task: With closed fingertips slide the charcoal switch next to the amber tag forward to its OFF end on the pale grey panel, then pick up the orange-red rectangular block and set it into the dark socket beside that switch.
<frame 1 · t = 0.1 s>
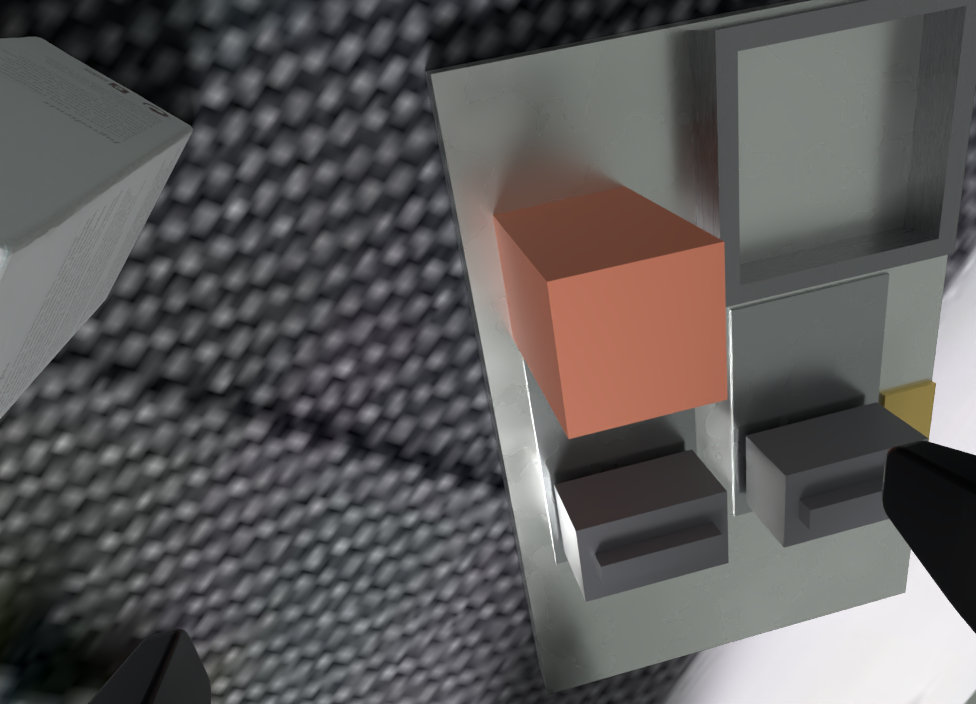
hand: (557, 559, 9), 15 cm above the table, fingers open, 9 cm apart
orange-red rectangular block: (567, 265, 21), point 1 cm above the table, touching panel
skincare box: (75, 178, 20), on the table
toggle A: (643, 529, 24), point 3 cm above the table, slide at 0.0 cm
panel: (706, 377, 26), on the table
toggle B: (837, 477, 24), point 3 cm above the table, slide at 0.0 cm
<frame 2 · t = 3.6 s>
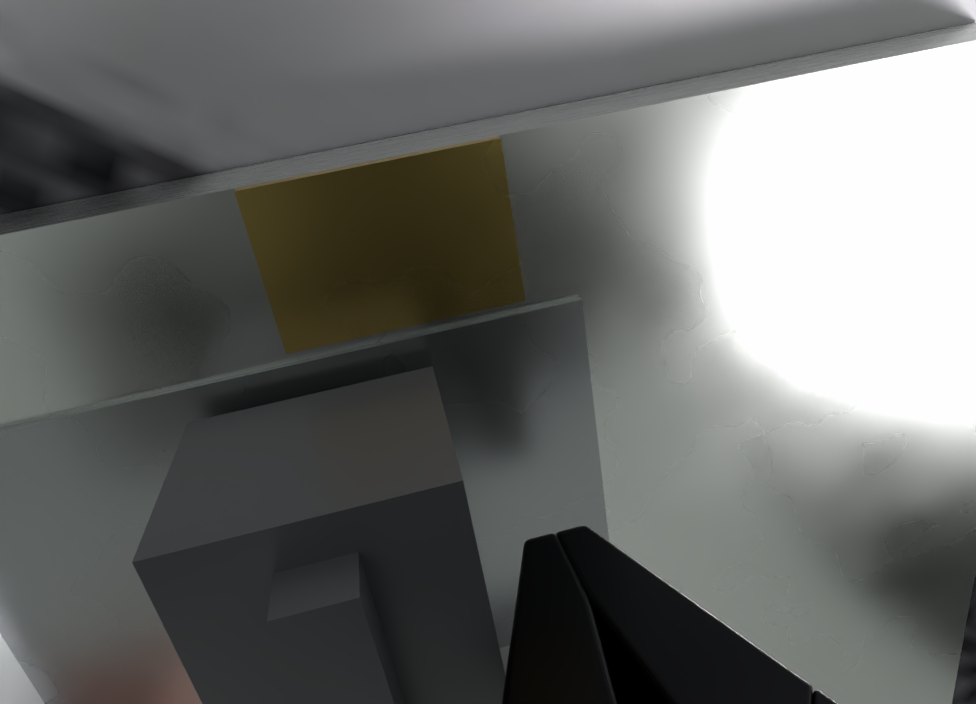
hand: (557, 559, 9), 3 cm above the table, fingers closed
panel: (304, 634, 13), on the table
toggle B: (363, 637, 8), point 3 cm above the table, slide at 1.3 cm, touching gripper
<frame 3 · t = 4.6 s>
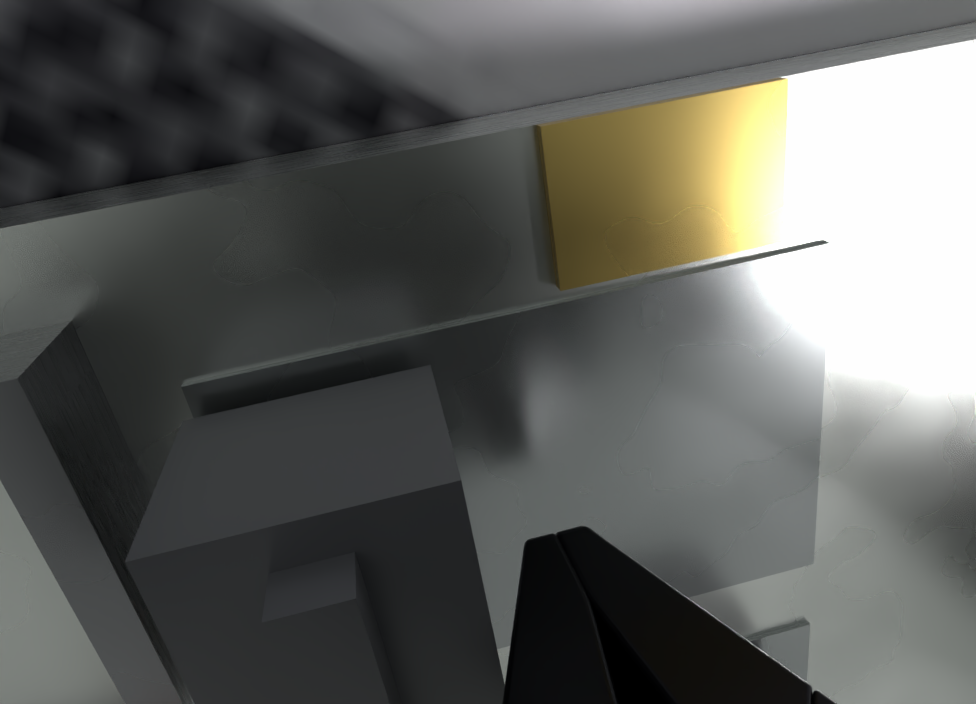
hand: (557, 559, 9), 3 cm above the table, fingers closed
panel: (491, 585, 13), on the table
toggle B: (360, 638, 8), point 3 cm above the table, slide at 4.8 cm, touching gripper
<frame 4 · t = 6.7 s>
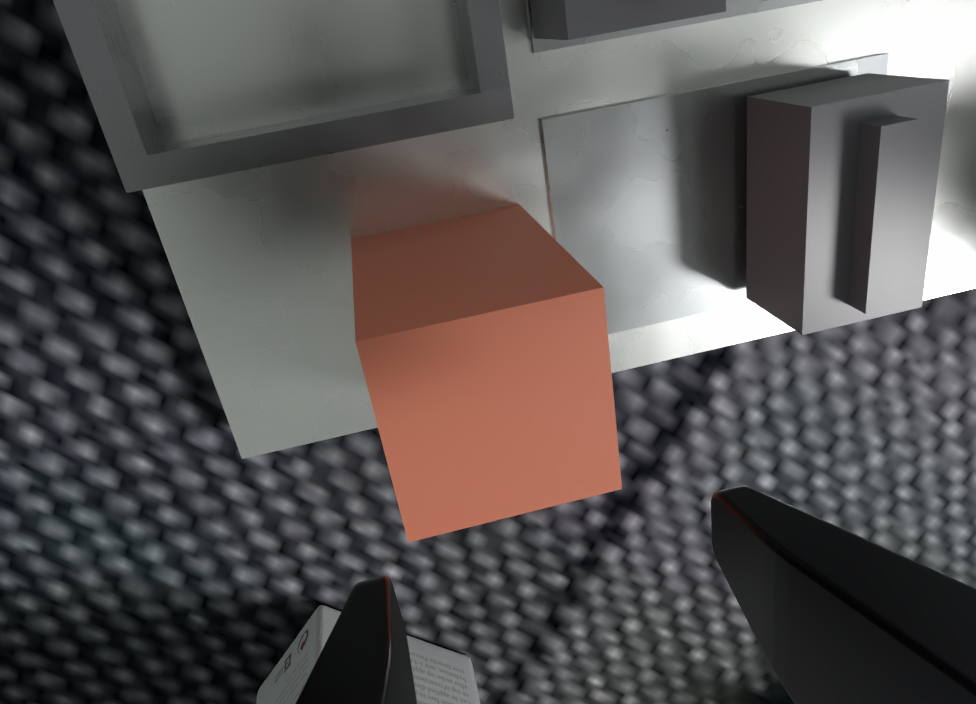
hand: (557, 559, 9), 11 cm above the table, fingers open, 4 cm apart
orange-red rectangular block: (451, 300, 17), point 1 cm above the table, touching panel
skincare box: (368, 667, 24), on the table
toggle A: (843, 205, 16), point 3 cm above the table, slide at 0.0 cm
panel: (648, 36, 17), on the table
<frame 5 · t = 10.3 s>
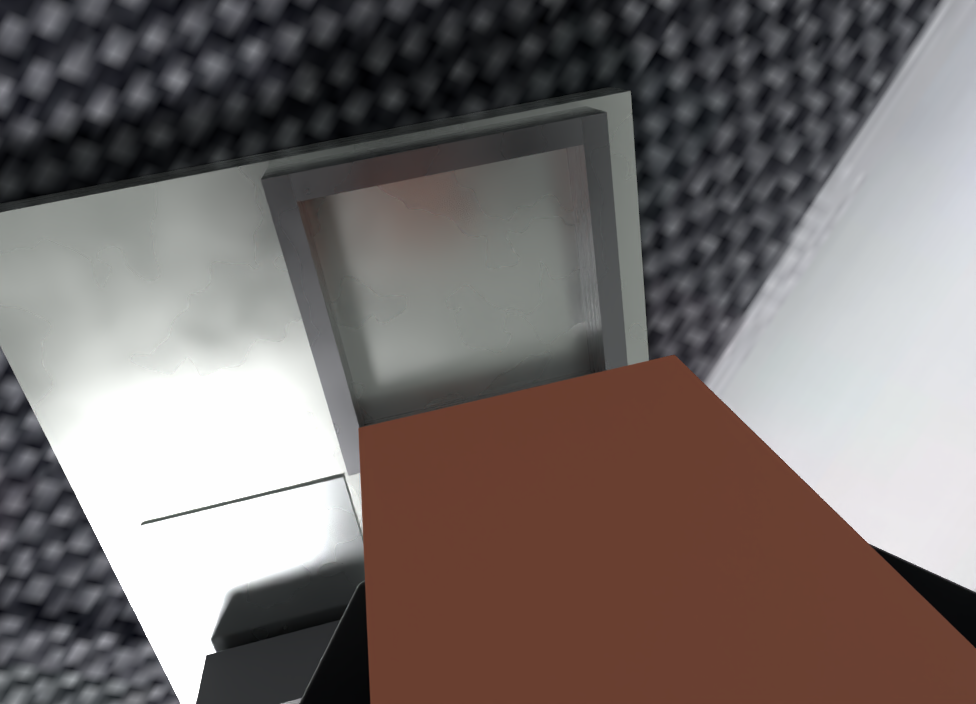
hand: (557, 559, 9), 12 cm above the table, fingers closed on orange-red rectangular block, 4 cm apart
orange-red rectangular block: (540, 518, 10), point 11 cm above the table, touching gripper
panel: (404, 522, 23), on the table
when the fingers open (4 cm above the table, at t = 12.1 s): orange-red rectangular block drops 1 cm, resting on panel.
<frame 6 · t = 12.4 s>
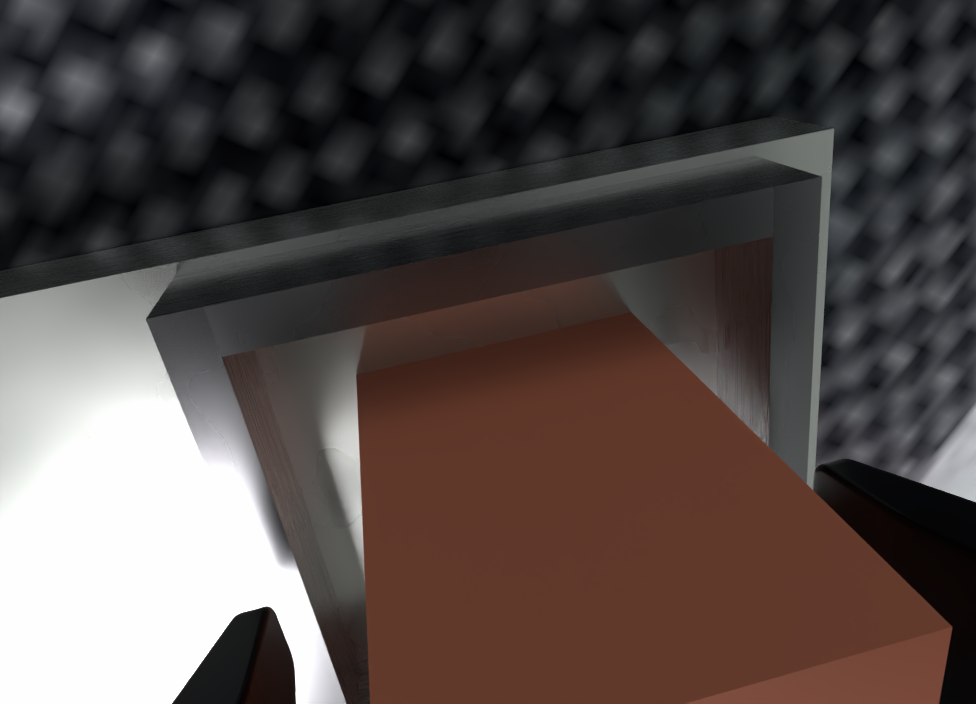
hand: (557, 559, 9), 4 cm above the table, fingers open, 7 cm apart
orange-red rectangular block: (516, 459, 11), point 1 cm above the table, touching panel
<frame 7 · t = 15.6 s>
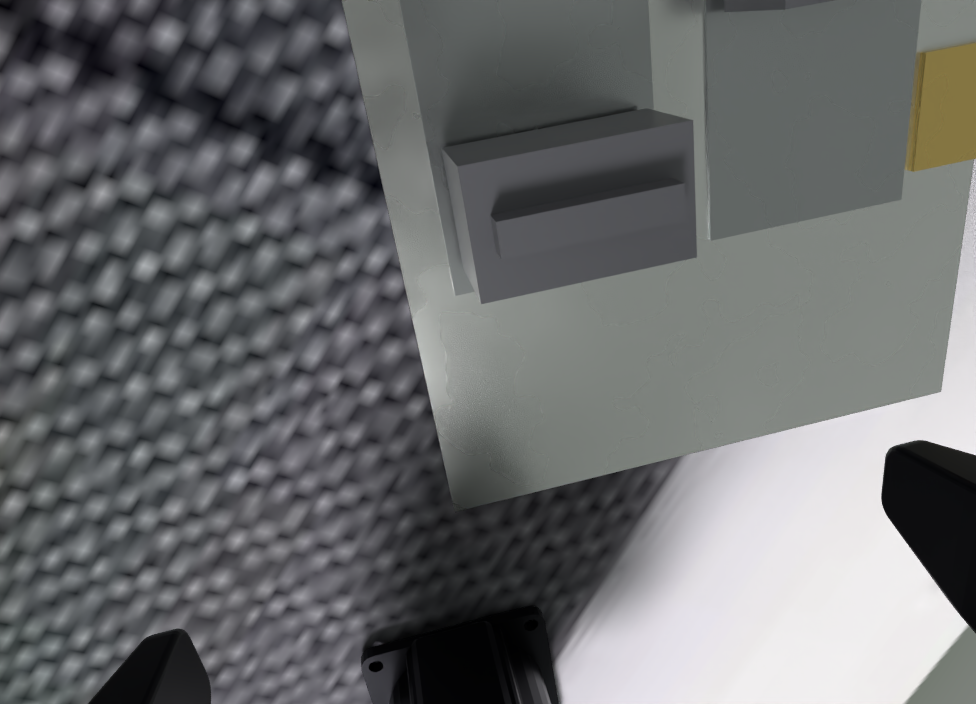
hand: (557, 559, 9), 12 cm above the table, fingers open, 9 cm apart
toggle A: (571, 204, 16), point 3 cm above the table, slide at 0.0 cm
panel: (670, 29, 18), on the table
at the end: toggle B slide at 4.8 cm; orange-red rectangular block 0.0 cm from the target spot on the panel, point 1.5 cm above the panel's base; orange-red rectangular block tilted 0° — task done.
